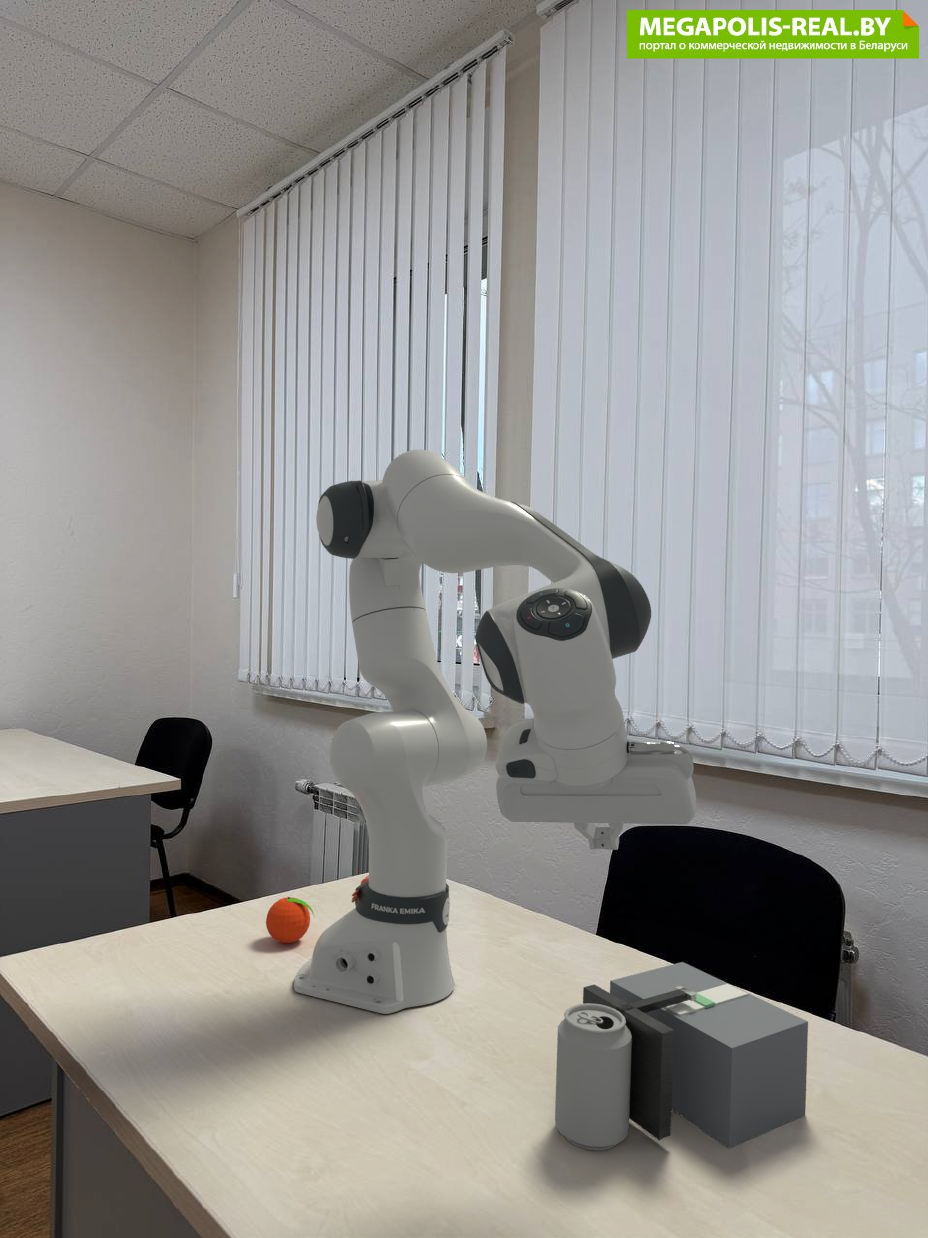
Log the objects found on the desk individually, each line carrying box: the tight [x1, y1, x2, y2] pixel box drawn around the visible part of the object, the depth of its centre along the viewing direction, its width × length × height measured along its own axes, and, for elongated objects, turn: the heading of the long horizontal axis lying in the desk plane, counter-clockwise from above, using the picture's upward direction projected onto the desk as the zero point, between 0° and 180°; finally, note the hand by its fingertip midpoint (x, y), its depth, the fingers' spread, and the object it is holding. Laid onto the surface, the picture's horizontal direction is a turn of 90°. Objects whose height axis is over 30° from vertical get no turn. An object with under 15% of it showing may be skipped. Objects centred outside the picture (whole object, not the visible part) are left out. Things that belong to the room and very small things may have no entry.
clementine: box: [265, 896, 315, 944], centre depth 135 cm, size 8×7×7 cm
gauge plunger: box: [582, 984, 696, 1141], centre depth 91 cm, size 10×12×10 cm
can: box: [554, 1003, 632, 1151], centre depth 86 cm, size 8×8×12 cm
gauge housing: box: [609, 961, 809, 1149], centre depth 95 cm, size 12×18×10 cm, turn 32°
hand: (605, 845), depth 91 cm, fingers closed
